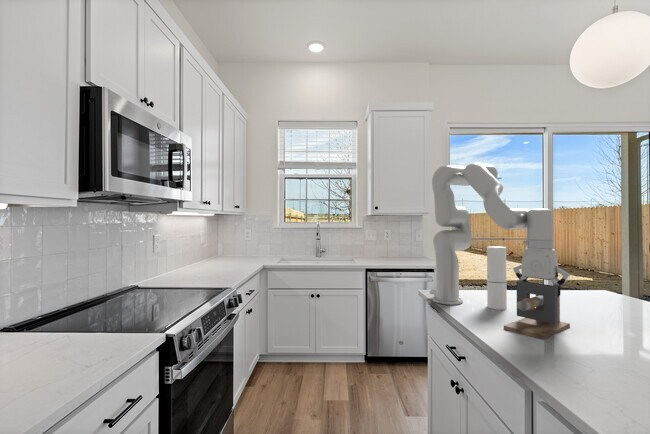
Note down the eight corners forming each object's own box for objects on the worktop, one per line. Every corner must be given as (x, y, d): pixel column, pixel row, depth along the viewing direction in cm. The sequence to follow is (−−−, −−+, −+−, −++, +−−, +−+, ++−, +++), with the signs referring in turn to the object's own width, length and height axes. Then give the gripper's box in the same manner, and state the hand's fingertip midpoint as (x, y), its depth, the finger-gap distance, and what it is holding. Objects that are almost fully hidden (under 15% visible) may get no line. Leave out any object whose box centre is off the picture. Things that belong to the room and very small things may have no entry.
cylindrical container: (502, 305, 146) (502, 246, 146) (509, 309, 139) (509, 247, 139) (484, 304, 147) (484, 246, 147) (491, 309, 140) (490, 247, 140)
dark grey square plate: (516, 315, 121) (516, 281, 121) (519, 314, 122) (519, 280, 122) (555, 324, 111) (554, 287, 111) (557, 323, 112) (557, 286, 112)
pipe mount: (503, 329, 116) (503, 293, 116) (532, 318, 127) (532, 286, 127) (542, 339, 106) (542, 300, 106) (569, 327, 117) (569, 291, 117)
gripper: (508, 243, 123) (508, 292, 123) (564, 247, 109) (564, 301, 109) (518, 242, 127) (519, 289, 127) (573, 246, 113) (574, 298, 113)
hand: (540, 295), depth 118 cm, fingers open, 9 cm apart
